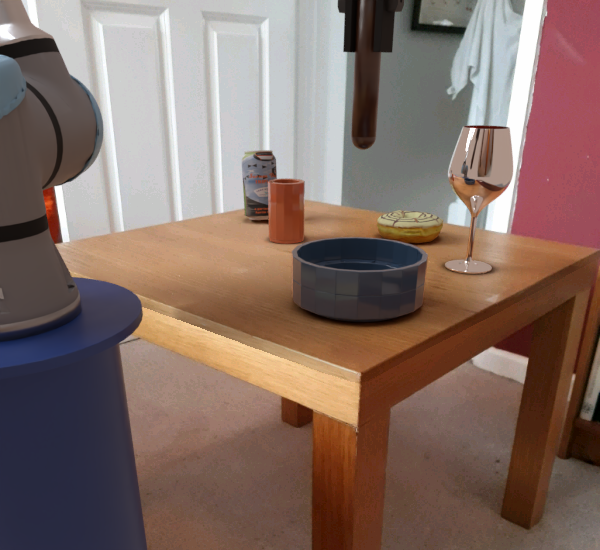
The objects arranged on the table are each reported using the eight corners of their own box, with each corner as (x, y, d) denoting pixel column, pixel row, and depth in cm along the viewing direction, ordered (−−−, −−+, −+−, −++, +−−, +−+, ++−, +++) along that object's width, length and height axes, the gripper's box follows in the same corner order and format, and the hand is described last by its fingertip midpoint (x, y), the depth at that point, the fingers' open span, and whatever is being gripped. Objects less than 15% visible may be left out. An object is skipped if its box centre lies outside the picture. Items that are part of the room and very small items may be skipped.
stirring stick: (346, 149, 66) (355, -69, 57) (357, 147, 68) (367, -65, 59) (368, 151, 65) (381, -72, 56) (379, 149, 67) (393, -67, 58)
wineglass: (467, 279, 83) (487, 130, 75) (425, 264, 89) (439, 125, 81) (510, 270, 87) (534, 128, 79) (467, 256, 93) (484, 123, 85)
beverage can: (251, 225, 111) (249, 152, 105) (237, 217, 117) (235, 148, 111) (284, 222, 113) (284, 150, 108) (269, 214, 119) (268, 146, 114)
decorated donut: (428, 229, 109) (431, 207, 107) (450, 244, 100) (453, 220, 98) (369, 230, 108) (371, 208, 106) (385, 246, 98) (387, 221, 97)
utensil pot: (262, 240, 101) (260, 182, 97) (281, 233, 105) (281, 177, 101) (291, 245, 99) (291, 185, 94) (310, 238, 103) (311, 180, 99)
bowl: (266, 310, 72) (265, 258, 69) (331, 277, 84) (333, 231, 81) (388, 336, 65) (393, 280, 62) (441, 297, 76) (447, 247, 74)
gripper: (494, -282, 51) (457, 52, 62) (324, -240, 58) (318, 53, 69) (462, -327, 45) (428, 50, 56) (279, -274, 52) (280, 51, 63)
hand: (367, 51), depth 62 cm, fingers closed on stirring stick, 3 cm apart
